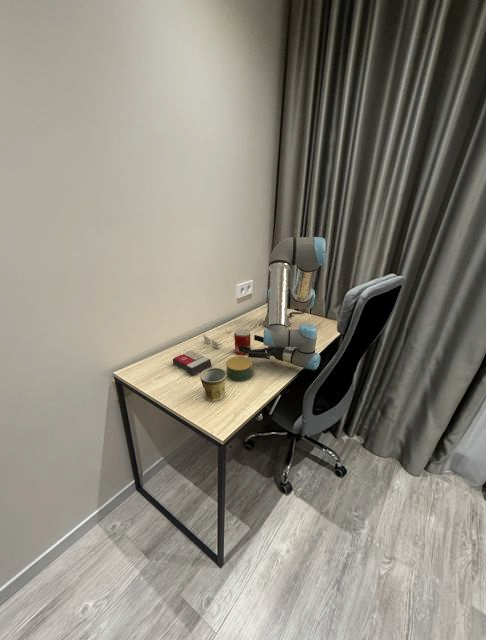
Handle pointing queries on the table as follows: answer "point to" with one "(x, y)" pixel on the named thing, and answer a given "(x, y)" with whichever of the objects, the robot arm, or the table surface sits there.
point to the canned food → (242, 340)
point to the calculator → (192, 362)
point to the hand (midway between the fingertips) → (246, 342)
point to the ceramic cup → (213, 383)
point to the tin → (239, 368)
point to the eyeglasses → (213, 340)
